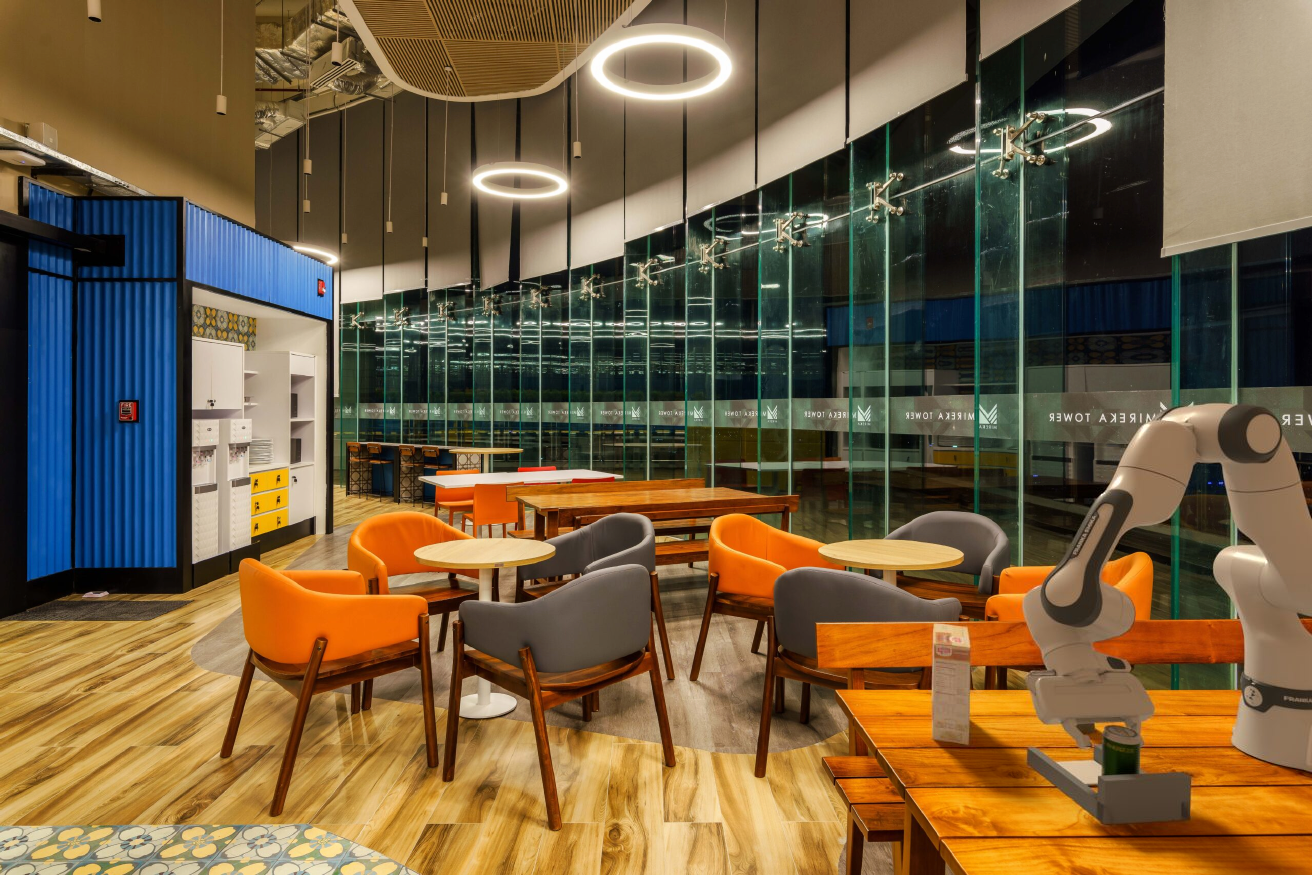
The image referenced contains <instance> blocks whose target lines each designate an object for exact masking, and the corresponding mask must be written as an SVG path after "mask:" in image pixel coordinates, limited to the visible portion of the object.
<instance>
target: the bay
mask: <svg viewBox="0 0 1312 875" xmlns="http://www.w3.org/2000/svg"><path fill="white" fill-rule="evenodd" d="M1092 751H1093V758H1092V759H1093V760H1092V759H1091V760H1090V759H1089V760H1087V759H1086V760H1070V761H1069V760H1067V761H1066V760H1065V761H1064V760H1063V761H1055V760H1053V759H1052V758H1051V757H1050V756H1048V755H1047V754H1045V753H1044V752H1043V751H1041V750H1040V749H1038V748H1037V747H1036V746H1033V747H1032V746H1030V747H1028V746H1027V747H1026V764H1027V765H1028V766H1030V767H1031V768H1032V769H1033V770H1034V771H1036V772H1037V773H1038V774H1040V775H1041V776H1042V777H1043V778H1044V779H1046V780H1047V781H1048V782H1050V783H1051V784H1052V785H1054V787H1056V788H1057V789H1058V790H1060V791H1061V792H1062V793H1064V794H1065V795H1066V796H1067V795H1068V796H1067V797H1069V796H1070V797H1071V798H1072V799H1073V800H1072V799H1071V798H1070V797H1069V798H1070V799H1071V800H1072V801H1074V802H1075V803H1076V802H1077V803H1076V804H1078V805H1079V806H1080V807H1082V809H1083V810H1085V811H1087V812H1088V813H1089V814H1090V815H1091V816H1092V817H1094V818H1095V819H1097V820H1098V821H1099V822H1100V823H1102V824H1103V825H1116V824H1135V823H1139V824H1140V823H1154V822H1155V823H1157V822H1174V821H1175V822H1176V821H1190V820H1191V805H1192V803H1191V801H1192V799H1191V798H1192V776H1191V775H1190V774H1187V772H1184V771H1173V772H1155V773H1154V772H1151V773H1149V772H1148V773H1147V772H1146V771H1144V770H1143V769H1141V768H1140V774H1127V775H1105V776H1101V769H1102V743H1101V744H1100V743H1099V744H1098V743H1097V744H1093V750H1092ZM1090 786H1097V791H1095V789H1093V788H1091V787H1090ZM1172 820H1174V821H1172Z"/></svg>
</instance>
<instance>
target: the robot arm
mask: <svg viewBox="0 0 1312 875" xmlns="http://www.w3.org/2000/svg"><path fill="white" fill-rule="evenodd" d="M1291 450H1292V449H1291V447H1290V446H1289V444H1288V442H1287V440H1286V438H1285V436H1284V435H1283V428H1282V426H1281V423H1280V421H1279V419H1278V418H1277V416H1276V415H1275V413H1273V411H1271V410H1270V409H1269V408H1267V407H1265V406H1261V405H1258V404H1253V403H1252V404H1251V403H1239V404H1234V403H1222V402H1220V403H1219V402H1218V403H1217V402H1216V403H1214V402H1213V403H1211V402H1210V403H1204V404H1195V405H1188V406H1184V405H1178V406H1173V407H1169V408H1166V409H1163V410H1161V411H1159V412H1158V413H1157V414H1156V415H1155V416H1154V417H1153V418H1152V419H1151V420H1150V421H1148V422H1145V423H1143V425H1141V426H1140V427H1139V428H1138V430H1137V431H1136V432H1135V434H1134V435H1133V437H1132V439H1131V440H1130V441H1129V444H1128V445H1127V447H1126V448H1125V450H1124V452H1123V454H1122V457H1121V459H1120V461H1119V463H1118V466H1117V468H1116V471H1115V473H1114V475H1113V477H1112V479H1111V481H1110V483H1109V485H1108V486H1107V487H1106V490H1105V491H1104V492H1102V493H1101V494H1100V495H1099V496H1098V497H1097V498H1096V499H1095V501H1094V502H1093V504H1092V505H1091V506H1090V508H1089V510H1088V512H1087V514H1086V515H1085V517H1084V519H1083V520H1082V523H1081V524H1080V526H1079V528H1078V530H1077V531H1076V534H1075V535H1074V537H1073V540H1072V541H1071V543H1070V545H1069V547H1068V549H1067V550H1066V552H1065V554H1064V556H1063V558H1062V559H1061V560H1060V562H1059V563H1058V564H1057V565H1056V566H1055V567H1054V568H1053V569H1052V570H1051V572H1049V574H1048V575H1047V576H1046V577H1045V578H1044V580H1043V582H1042V584H1040V585H1037V586H1035V587H1033V588H1031V589H1030V590H1028V592H1027V593H1026V594H1025V595H1024V597H1023V600H1022V612H1023V616H1024V619H1025V622H1026V624H1027V627H1028V629H1029V632H1030V634H1031V637H1032V639H1033V642H1035V644H1036V645H1037V646H1038V648H1039V649H1040V652H1041V658H1042V661H1043V664H1044V665H1045V668H1046V669H1045V670H1031V671H1029V672H1028V673H1027V674H1026V675H1025V678H1024V680H1025V684H1026V686H1027V689H1028V691H1029V692H1030V696H1031V700H1032V704H1033V708H1034V710H1035V714H1036V716H1037V718H1038V720H1039V721H1040V722H1041V723H1043V724H1044V725H1062V726H1061V727H1062V728H1063V730H1064V732H1066V733H1067V734H1068V735H1069V736H1070V737H1071V738H1072V739H1073V740H1075V742H1076V745H1077V746H1078V749H1080V750H1090V749H1091V748H1093V743H1092V741H1091V738H1090V736H1089V735H1085V734H1084V733H1081V732H1080V731H1079V730H1078V729H1077V728H1076V725H1077V724H1083V723H1095V724H1105V723H1107V724H1109V723H1111V724H1113V723H1124V724H1125V727H1127V728H1130V729H1132V730H1134V731H1136V732H1137V733H1138V734H1139V739H1140V748H1142V747H1144V746H1145V741H1144V738H1143V737H1142V735H1141V733H1142V732H1141V731H1142V722H1146V721H1147V720H1149V719H1150V718H1152V717H1154V715H1155V710H1156V708H1155V705H1154V703H1153V701H1152V699H1151V697H1150V695H1149V694H1148V693H1147V690H1146V689H1145V687H1144V686H1143V684H1142V682H1141V681H1140V680H1139V679H1138V678H1137V677H1136V676H1135V675H1134V674H1132V673H1130V671H1131V670H1132V667H1131V664H1130V663H1129V661H1128V660H1126V659H1124V658H1119V657H1116V656H1113V655H1109V654H1106V653H1103V652H1101V651H1098V650H1095V648H1094V646H1093V643H1098V642H1103V641H1107V640H1111V639H1115V638H1118V637H1121V636H1123V635H1125V634H1126V633H1127V632H1129V631H1130V630H1131V628H1132V627H1133V625H1134V623H1135V622H1136V621H1135V620H1136V614H1137V613H1136V607H1135V603H1134V602H1133V600H1132V598H1131V597H1130V596H1129V595H1128V594H1127V593H1126V592H1124V591H1122V590H1120V589H1118V587H1116V586H1113V585H1111V584H1109V583H1107V582H1104V581H1103V580H1102V575H1103V571H1104V569H1105V568H1106V565H1107V564H1108V561H1109V559H1110V558H1111V556H1112V554H1113V552H1114V551H1115V548H1116V546H1117V545H1118V543H1119V540H1120V539H1121V537H1122V536H1123V535H1124V534H1125V533H1126V532H1128V531H1129V530H1131V529H1133V528H1136V527H1147V526H1153V525H1158V524H1160V523H1163V522H1165V521H1167V520H1169V519H1170V518H1171V517H1173V514H1174V513H1175V512H1176V510H1177V509H1178V507H1179V506H1180V504H1181V502H1182V499H1183V497H1184V495H1185V493H1186V489H1187V487H1188V485H1189V481H1190V479H1191V475H1192V472H1193V468H1194V466H1195V464H1197V463H1201V464H1202V463H1204V464H1213V463H1215V464H1216V463H1220V465H1221V466H1222V475H1223V476H1222V477H1223V481H1224V486H1225V489H1226V494H1227V499H1228V504H1229V507H1230V511H1231V515H1232V520H1233V522H1234V524H1235V527H1237V529H1238V530H1239V531H1240V532H1241V533H1242V534H1244V535H1245V536H1246V537H1248V538H1249V539H1250V540H1252V542H1253V543H1254V545H1253V544H1246V545H1245V544H1242V545H1241V544H1240V545H1239V544H1236V545H1230V546H1227V547H1225V548H1223V549H1222V550H1220V551H1219V552H1218V554H1216V557H1215V559H1214V561H1213V565H1212V566H1213V567H1212V570H1213V572H1212V573H1213V576H1214V579H1215V581H1216V583H1217V584H1218V585H1219V586H1220V587H1221V588H1222V589H1223V590H1224V591H1225V593H1226V594H1227V595H1228V597H1229V598H1230V600H1231V601H1232V603H1233V605H1234V608H1235V610H1236V612H1237V615H1238V617H1239V620H1240V623H1241V627H1242V630H1243V636H1244V637H1243V639H1244V642H1243V645H1244V663H1243V664H1244V667H1243V668H1244V670H1243V671H1242V672H1241V675H1240V691H1241V696H1240V697H1239V703H1238V708H1237V715H1236V721H1235V725H1234V726H1232V730H1231V733H1232V735H1231V738H1230V743H1231V744H1232V745H1233V746H1234V747H1235V748H1237V749H1238V750H1240V751H1242V752H1243V753H1246V754H1248V755H1250V756H1253V757H1254V758H1257V759H1260V760H1263V761H1266V762H1269V763H1272V764H1275V765H1280V766H1284V767H1287V768H1288V767H1289V768H1293V769H1297V770H1298V769H1299V770H1304V771H1306V772H1310V773H1312V633H1310V632H1309V630H1307V629H1306V627H1305V626H1304V625H1303V623H1302V622H1301V620H1300V618H1299V616H1298V614H1301V615H1304V616H1309V617H1312V517H1311V514H1310V510H1309V508H1308V504H1307V501H1306V500H1307V499H1306V496H1305V493H1304V490H1303V486H1302V484H1303V483H1302V481H1301V477H1300V472H1299V470H1298V467H1297V466H1298V465H1297V463H1296V460H1295V458H1294V455H1293V452H1292V451H1291Z"/></svg>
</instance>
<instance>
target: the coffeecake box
mask: <svg viewBox="0 0 1312 875" xmlns="http://www.w3.org/2000/svg"><path fill="white" fill-rule="evenodd" d="M969 635H970V634H969V630H968V626H961V625H952V624H946V623H933V631H932V656H931V657H932V663H931V666H932V667H931V670H932V671H931V672H932V673H931V733H932V734H931V738H932V740H934V741H940V742H947V743H955V744H960V745H966V746H969V745H970V718H971V717H970V714H971V713H970V711H971V710H970V708H971V704H970V703H971V702H970V701H971V647H972V646H971V642H970V636H969Z"/></svg>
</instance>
